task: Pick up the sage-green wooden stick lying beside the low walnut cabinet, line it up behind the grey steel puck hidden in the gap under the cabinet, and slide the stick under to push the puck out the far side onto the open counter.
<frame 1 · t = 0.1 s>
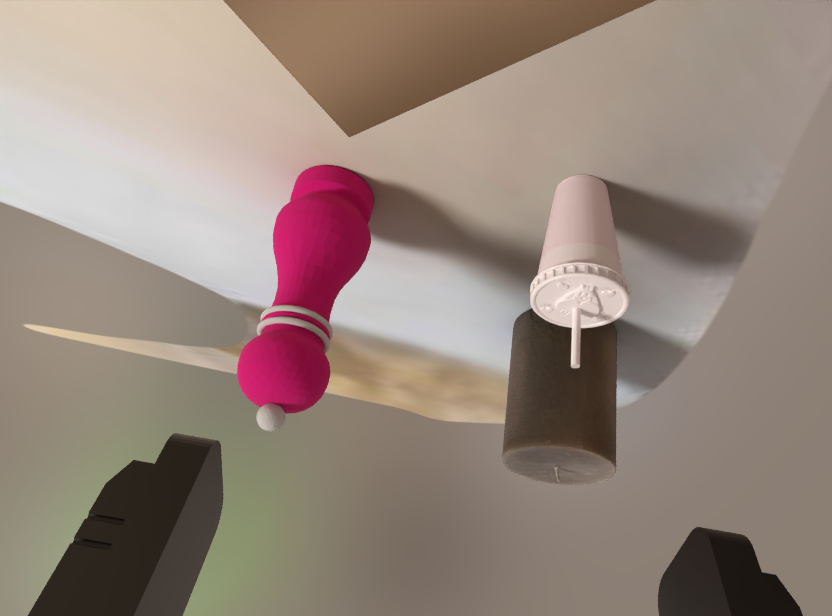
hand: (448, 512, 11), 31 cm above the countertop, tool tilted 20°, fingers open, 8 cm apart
pillar candle: (563, 329, 65), on the countertop
smoothie: (581, 190, 49), on the countertop
pepper mill: (335, 191, 53), on the countertop
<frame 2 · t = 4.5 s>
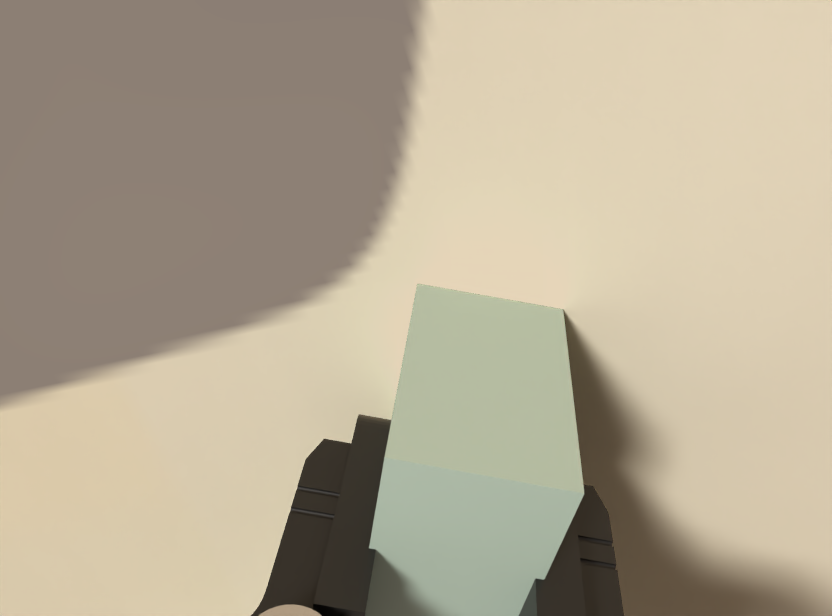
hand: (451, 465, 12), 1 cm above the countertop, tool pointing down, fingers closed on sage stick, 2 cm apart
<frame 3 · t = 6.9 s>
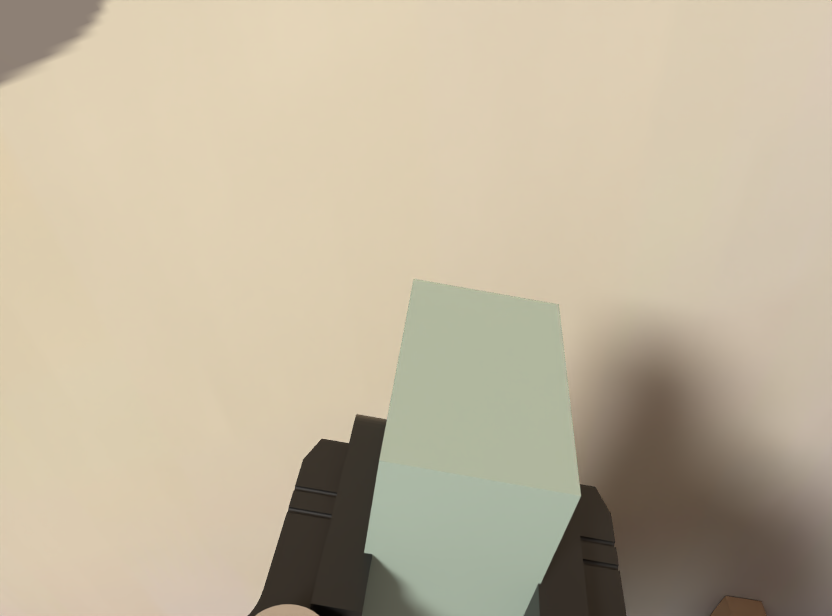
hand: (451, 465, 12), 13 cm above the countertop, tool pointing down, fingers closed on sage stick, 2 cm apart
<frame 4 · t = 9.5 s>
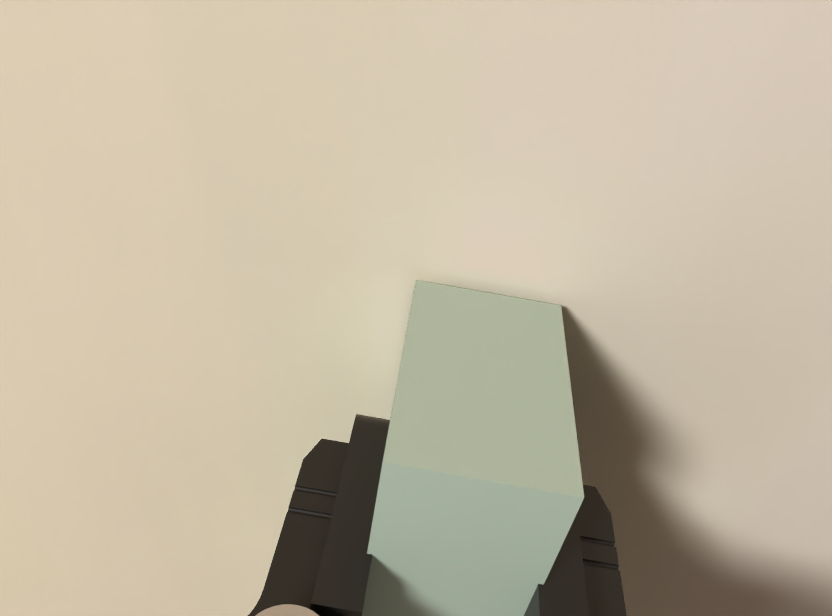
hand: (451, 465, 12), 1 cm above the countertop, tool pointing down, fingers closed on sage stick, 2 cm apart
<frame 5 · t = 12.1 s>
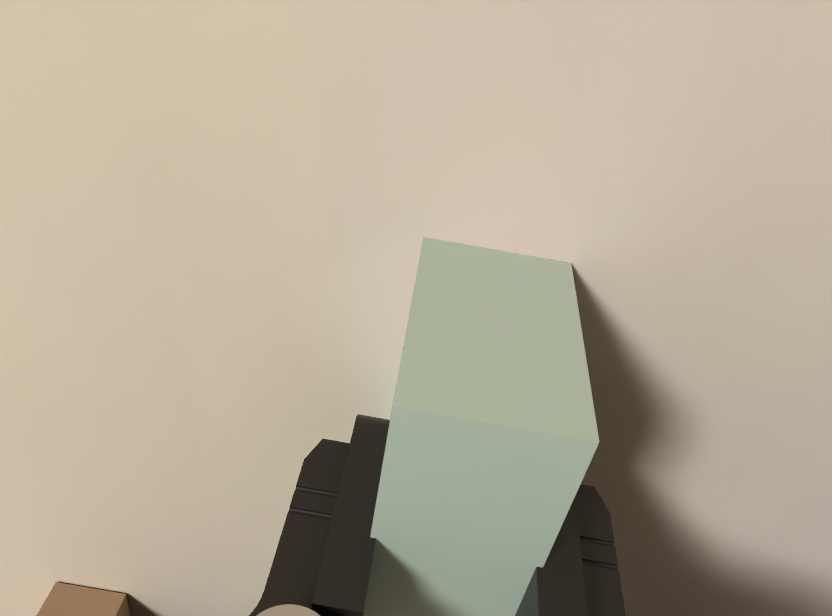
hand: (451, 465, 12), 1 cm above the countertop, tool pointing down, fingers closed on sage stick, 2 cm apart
sage stick: (406, 610, 18), on the countertop, touching gripper, steel puck
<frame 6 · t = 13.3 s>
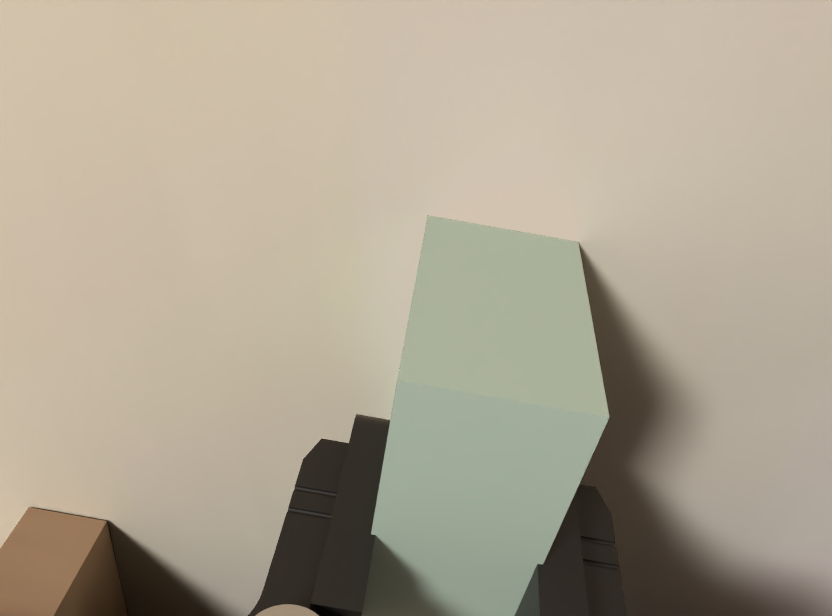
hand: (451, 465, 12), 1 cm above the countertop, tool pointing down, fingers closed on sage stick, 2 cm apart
sage stick: (408, 600, 18), on the countertop, touching gripper
when the fingers open (1 cm above the countertop, at t = 14.8 s): sage stick stays where it is, on the countertop.
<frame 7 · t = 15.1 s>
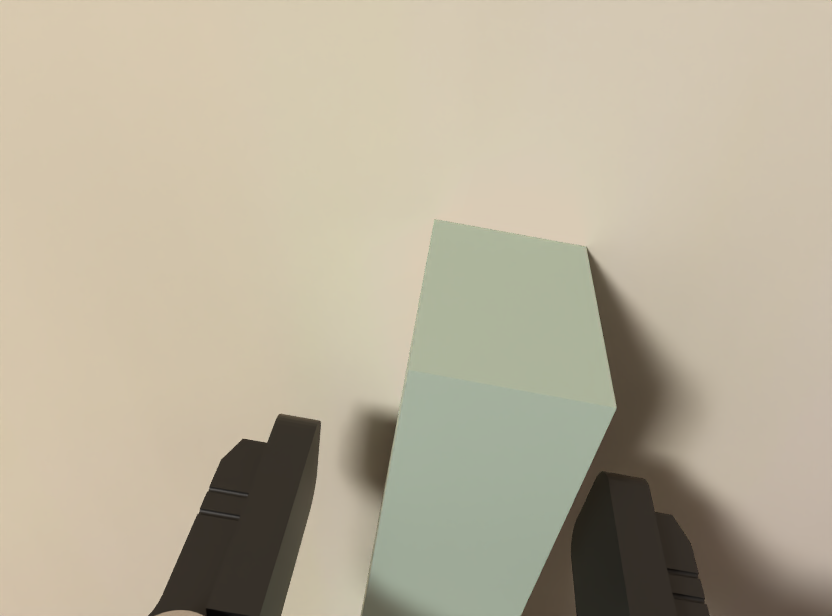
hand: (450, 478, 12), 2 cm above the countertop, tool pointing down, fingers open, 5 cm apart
sage stick: (411, 594, 18), on the countertop
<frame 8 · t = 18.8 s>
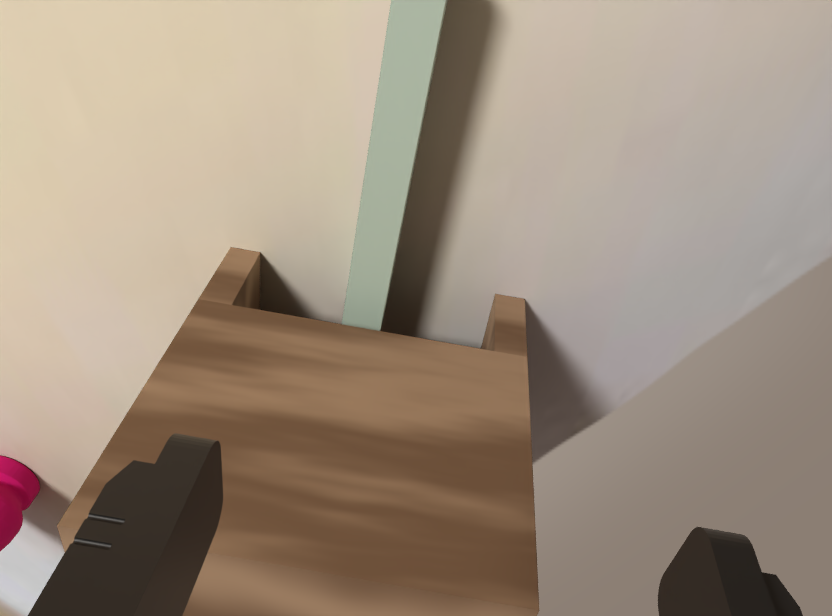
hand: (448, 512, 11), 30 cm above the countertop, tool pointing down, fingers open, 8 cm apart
sage stick: (395, 151, 40), on the countertop
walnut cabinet: (369, 341, 49), on the countertop
pepper mill: (8, 474, 63), on the countertop
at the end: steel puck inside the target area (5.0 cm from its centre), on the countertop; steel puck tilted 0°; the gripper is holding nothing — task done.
